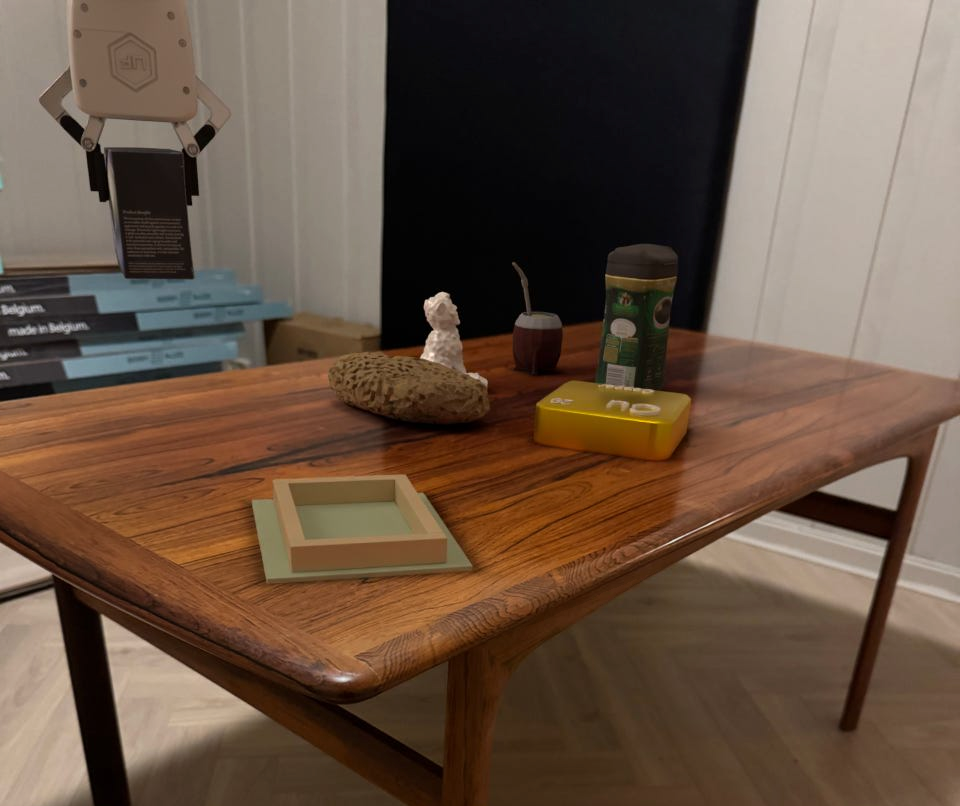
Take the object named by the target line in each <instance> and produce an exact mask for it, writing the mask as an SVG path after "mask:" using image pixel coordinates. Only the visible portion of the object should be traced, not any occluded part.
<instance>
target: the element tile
mask: <svg viewBox="0 0 960 806" xmlns="http://www.w3.org/2000/svg"><path fill="white" fill-rule="evenodd" d="M691 406H692V399H691V397H690V396H689V395H688V394H685V393H680V392H671V391H664V390H661V391H656V390H651V389H641V388H634V387H624V385H623V386H615V385H610V384H599V383H595V382H591V381H590V382H589V381H581V380H569V381H567V382H565V383H563V384H562V385H560V386H559V387H557V388H556V389H555V390H553V391H552V392H551V393H548V394H547V395H545V397H543V398H541V399H540V400H539V401H538V402H536V404H535V415H534V426H533V427H534V429H533V441H534V442H535V443H536V444H538V445H541V446H546V447H553V448H559V449H567V450H571V451H572V450H573V451H579V452H587V453H594V454H599V455H608V456H615V457H621V458H629V459H636V460H642V461H651V462H661V461H666V460H668V459H670V458H671V457H672V455H673V454H674V452H675V451H676V449H677V448H678V446H679V445H680V443H681V442H682V441H683V439H684V438H685V436H686V434H687V432H688V426H689V418H690V412H691Z"/></svg>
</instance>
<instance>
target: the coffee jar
mask: <svg viewBox="0 0 960 806" xmlns="http://www.w3.org/2000/svg"><path fill="white" fill-rule="evenodd" d="M678 264H679V256H678V255H677V253H676V252H675V251H674V250H673V248H672V247H671V246H665V245H660V244H652V243H639V244H631V245H627V246H620V247H616V248H615V249H614V250H613V251H611V252H609V254H608V255H607V264H606V270H605V277H604V278H605V279H604V280H605V307H604V315H603V322H602V323H603V324H602V331H601V339H600V345H599V351H598V352H599V353H598V359H597V366H596V372H595V380H594V381H595V382H594V383H599V384H610V385H615V386H623V385H624V387H634V388H641V389H651V390H656V391H663V389H664V385H665V375H666V366H667V365H666V363H667V362H666V361H667V351H668V340H669V329H670V321H671V320H670V319H671V310H672V303H673V297H674V291H675V287H676V283H677V279H678V277H677V276H678V270H679V269H678V267H679V265H678Z"/></svg>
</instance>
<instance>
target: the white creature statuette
mask: <svg viewBox="0 0 960 806" xmlns="http://www.w3.org/2000/svg"><path fill="white" fill-rule="evenodd" d="M450 297H451V294H450V293H448V292H444V291H441V292H438V293H437V294H435V295H434V296H430V297H429V298H428V299H425V300H424V304H423V310H424V314H425V315H424V316H425V317H426V322H428V323H429V325H430V327H431V328H432V329H433V330H431V331H430V332H429V334H428V336H427V338H426V340H425V346H424V348H423V353H422V354H421V355H420V357H419V358H422V359H426V360H429V361H432V362H434V363H440V364H442V365H444V366H446V367H449V368H451V369H454V370H457V371H460V372H462V373H464V374H469V375H470V376H471V377H473V378H474V379H477V380H480V381H481V382H482V383H483V384H484V385H485V387H486V391H487V392H488V385H489V384H488V383H489V382H488V380H487V378H485V377H483V376H481V375H480V374H479V373H478V372H475V373H474V372H468V373H467V369H466V366H465V365H464V359H463V357H464V355H463V348H464V347H463V343H462V341H461V339H460V334H459V329H458V328H457V326H458V325H460V324H461V320H460V319H459V315H458V311H457V309H458V307H457V305H455V304H453V302H452V299H451V298H450Z"/></svg>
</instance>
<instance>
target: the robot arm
mask: <svg viewBox="0 0 960 806" xmlns="http://www.w3.org/2000/svg"><path fill="white" fill-rule="evenodd" d="M188 15H189V14H188V10H187V5H186V2H185V0H66V29H67V44H68V56H69V57H68V58H69V66H68V67H66V69H65V70H64V71H63V72H62V73H61V74H60V75H59V76H58V77H57V78H56V79H55V80H54V81H53V82H52V83H51V84H50V85H49V86H48V87H47V88H46V89H45V90H44V91H43V92H42V93H41V94H40V95H39V98H38V102H39V104H40V106H41V107H42V108H43V109H44V110H45V111H46V112H47V113H48V114H49V115H50V116H51V118H53V119H54V120H55V122H56V123H58V125H59V126H60V127H61V128H62V129H63V130H64V131H65V132H66V133H67V134H68V135H69V136H70V137H71V138H72V139H73V140H74V141H75V142H76V143H77V144H78V145H79V146H80V147H81V148H82V150H84V151H85V158H86V167H87V174H88V175H87V176H88V183H89V190H90V192H96V193H98V201H99V203H107V202H109V197H108V188H107V177H106V167H105V157H104V152H103V153H102V147H101V144H100V139H101V136H102V133H103V131H104V128H105V124H106V122H107V119H108V120H109V119H111V120H123V121H138V122H139V121H140V122H154V123H155V122H156V123H169V124H170V125H171V126H172V128H173V130H174V132H175V134H176V136H177V138H178V140H179V142H180V144H181V146H182V149H181V152H183V154H184V170H185V188H186V200H187V207H193V197H199V196H200V186H199V185H200V184H199V173H198V162H197V161H198V159H197V158H198V156H199V155H200V153H201V152H202V151H203V150H204V149H205V148H206V147H207V146H208V145H209V144H210V142H211V141H212V140H213V139H214V138H215V137H216V136H217V134H218V133H219V132H220V130H221V129H222V128H223V127H224V126H225V124H226V123H227V122H228V121H229V119H230V118H231V115H232V113H231V110H230V109H229V107H228V106H227V105H226V104H225V103H224V102H223V101H222V100H221V99H219V97H218V96H217V95H216V94H215V93H214V92H213V91H212V90H211V89H210V88H209V87H208V86H207V85H206V84H205V83H204V81H202V80H201V79H200V78H199V77H198V76H197V75H196V67H195V59H194V49H193V40H192V34H191V27H190V21H189V16H188ZM71 92H72V95H73V99H74V103H75V106H76V107H77V108H78V110H80V111H81V112H82V113H84V114H86V115H89V116H88V117H87V118H88V119H87V121H86V125H85V127H83V126H82V125H81V124H80V123H79V122H78V121H77V120H76V119H75V118H74V117H73V116H72V115H71V114H70V113H69V111H67V109H66V108H65V107H64V106H63V100H64V99H65V98H66V97H67V96H68V95H69V93H71ZM198 100H199V101H200V102H201V103H202V104H203V105H204V106H205V107H206V108H207V109H208V110H209V113H210V116H209V117H208V119H207V120H206V121H205V123H204V124H203V125H202V126H201V127H200V129H199V130H198V131H197V132H195V134H193V132H192V130H191V128H190V126H189V124H188V122H189V121H191V120H193V119H194V118H195V117H196V116H197V114H198V109H199V104H198V103H199V102H198Z"/></svg>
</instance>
